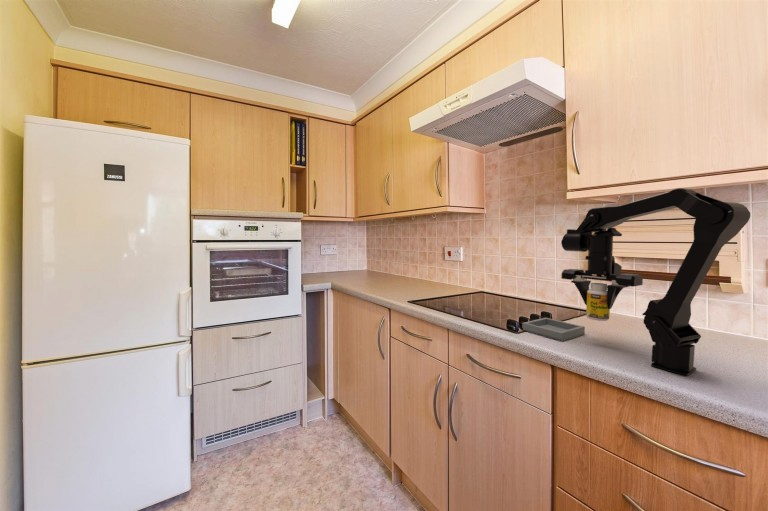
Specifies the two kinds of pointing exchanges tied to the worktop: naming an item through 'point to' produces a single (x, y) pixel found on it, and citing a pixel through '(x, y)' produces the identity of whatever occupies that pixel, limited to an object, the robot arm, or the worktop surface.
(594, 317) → the supplement bottle
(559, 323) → the tray
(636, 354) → the worktop surface
